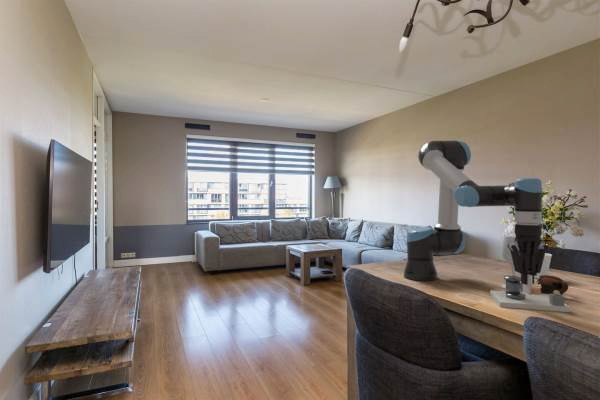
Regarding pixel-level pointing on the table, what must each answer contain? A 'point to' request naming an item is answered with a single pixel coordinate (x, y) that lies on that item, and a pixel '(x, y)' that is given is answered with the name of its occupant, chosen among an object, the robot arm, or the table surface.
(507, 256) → the wineglass
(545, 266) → the cup
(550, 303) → the level board
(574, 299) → the table surface
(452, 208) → the robot arm
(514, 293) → the capstan
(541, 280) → the brown animal figurine
